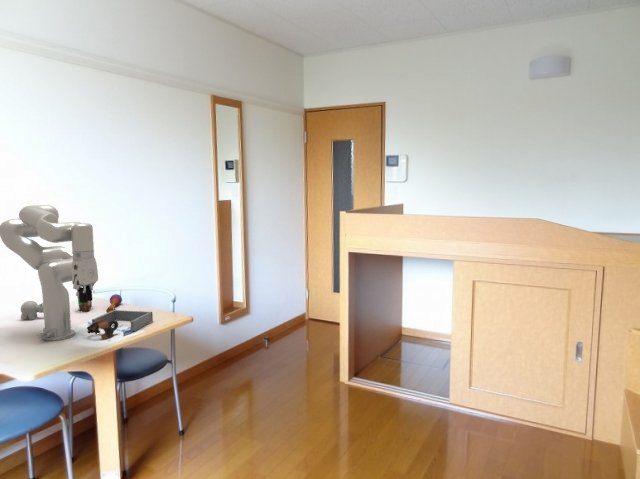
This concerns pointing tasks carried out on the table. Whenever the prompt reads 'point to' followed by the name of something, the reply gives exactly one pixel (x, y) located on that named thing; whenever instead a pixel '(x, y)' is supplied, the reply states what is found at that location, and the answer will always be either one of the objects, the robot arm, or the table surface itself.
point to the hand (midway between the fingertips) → (85, 301)
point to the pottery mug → (105, 326)
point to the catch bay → (128, 318)
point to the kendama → (114, 302)
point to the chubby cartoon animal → (31, 310)
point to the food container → (84, 305)
